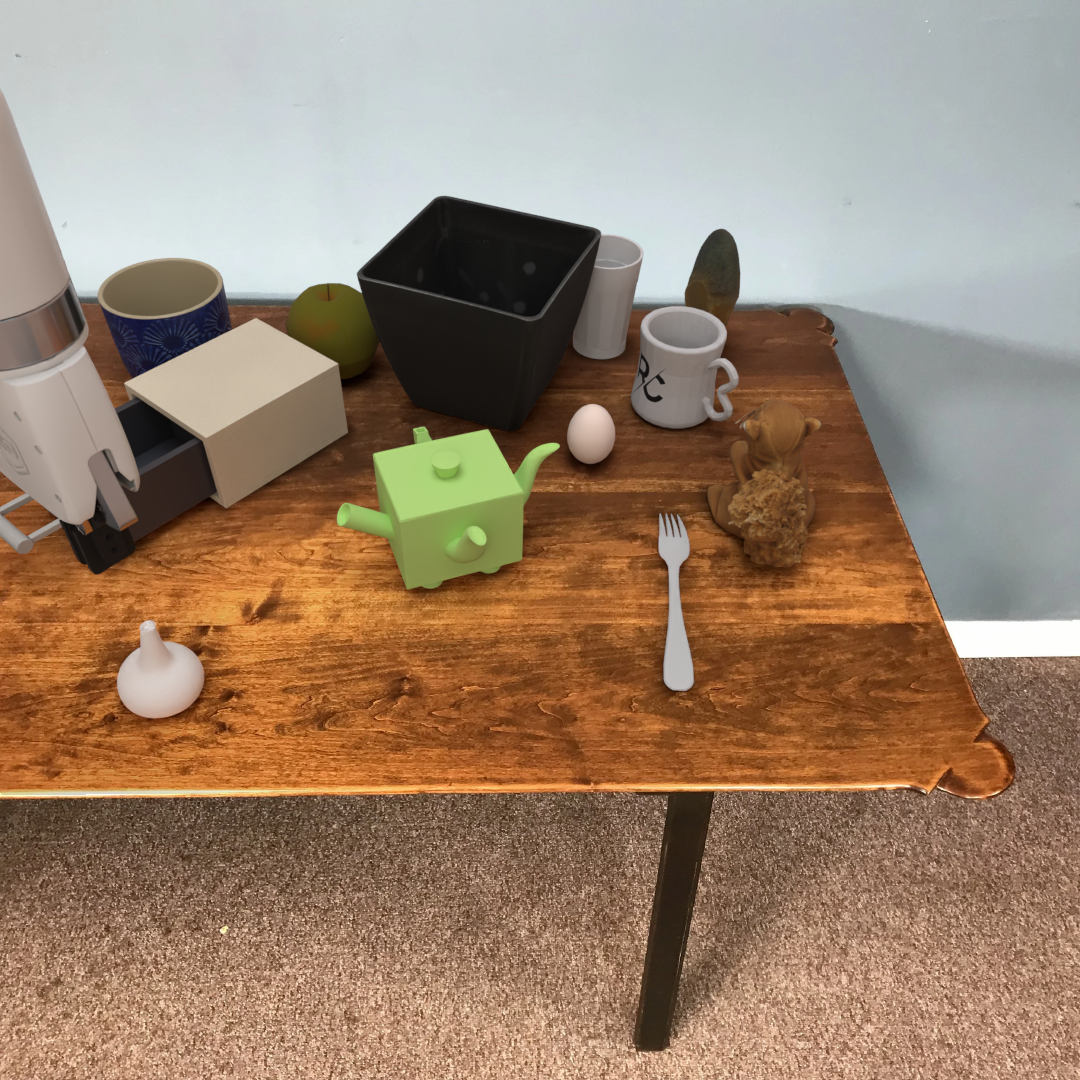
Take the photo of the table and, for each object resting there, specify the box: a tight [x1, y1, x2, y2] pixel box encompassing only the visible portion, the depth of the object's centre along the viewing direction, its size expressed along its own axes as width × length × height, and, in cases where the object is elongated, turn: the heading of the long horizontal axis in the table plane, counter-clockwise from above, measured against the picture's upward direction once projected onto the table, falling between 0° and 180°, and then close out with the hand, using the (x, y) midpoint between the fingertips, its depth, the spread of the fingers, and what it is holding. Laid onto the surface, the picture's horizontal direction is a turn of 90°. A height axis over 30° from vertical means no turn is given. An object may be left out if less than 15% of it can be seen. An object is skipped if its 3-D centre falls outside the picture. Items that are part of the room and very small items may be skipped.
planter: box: [97, 257, 233, 379], centre depth 99 cm, size 12×12×11 cm
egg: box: [566, 403, 616, 465], centre depth 92 cm, size 5×5×7 cm
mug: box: [630, 305, 740, 430], centre depth 97 cm, size 12×9×10 cm
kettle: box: [336, 426, 561, 591], centre depth 81 cm, size 15×14×11 cm
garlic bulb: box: [116, 619, 205, 719], centre depth 70 cm, size 6×6×8 cm
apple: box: [284, 282, 380, 380], centre depth 101 cm, size 10×10×11 cm
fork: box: [658, 512, 695, 692], centre depth 81 cm, size 3×21×3 cm, turn 177°
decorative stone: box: [684, 228, 741, 327], centre depth 104 cm, size 10×6×15 cm, turn 169°
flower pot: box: [356, 195, 602, 433], centre depth 97 cm, size 19×19×17 cm
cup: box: [572, 233, 644, 360], centre depth 106 cm, size 8×8×12 cm
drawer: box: [0, 397, 217, 555], centre depth 83 cm, size 20×11×7 cm, turn 141°
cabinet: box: [123, 317, 349, 509], centre depth 92 cm, size 16×13×9 cm
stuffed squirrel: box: [706, 399, 822, 568], centre depth 83 cm, size 10×14×13 cm
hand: (108, 556), depth 62 cm, fingers closed
